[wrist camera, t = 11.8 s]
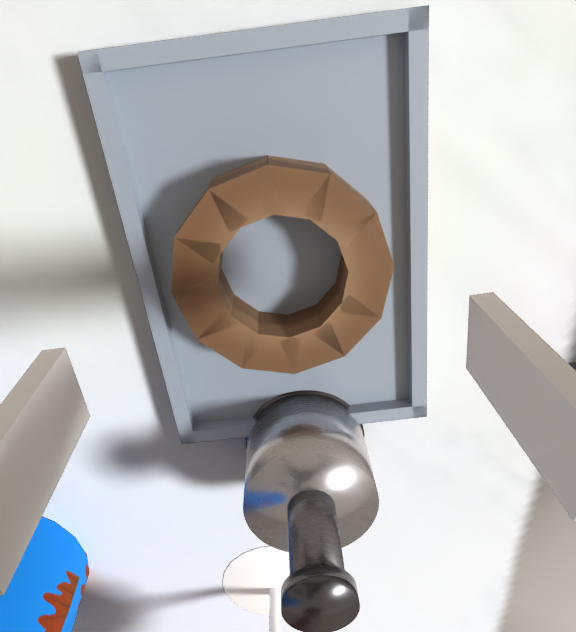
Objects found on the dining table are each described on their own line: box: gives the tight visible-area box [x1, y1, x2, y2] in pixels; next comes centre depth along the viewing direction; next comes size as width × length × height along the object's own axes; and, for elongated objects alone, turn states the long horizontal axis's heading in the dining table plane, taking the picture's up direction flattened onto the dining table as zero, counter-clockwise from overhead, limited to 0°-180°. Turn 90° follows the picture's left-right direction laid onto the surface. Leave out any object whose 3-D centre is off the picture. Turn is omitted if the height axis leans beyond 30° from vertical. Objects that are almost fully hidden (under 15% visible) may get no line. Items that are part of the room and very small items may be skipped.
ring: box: [171, 155, 394, 374], centre depth 24 cm, size 10×10×2 cm
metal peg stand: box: [243, 390, 379, 632], centre depth 26 cm, size 7×7×11 cm
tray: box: [77, 5, 429, 444], centre depth 25 cm, size 14×20×2 cm
